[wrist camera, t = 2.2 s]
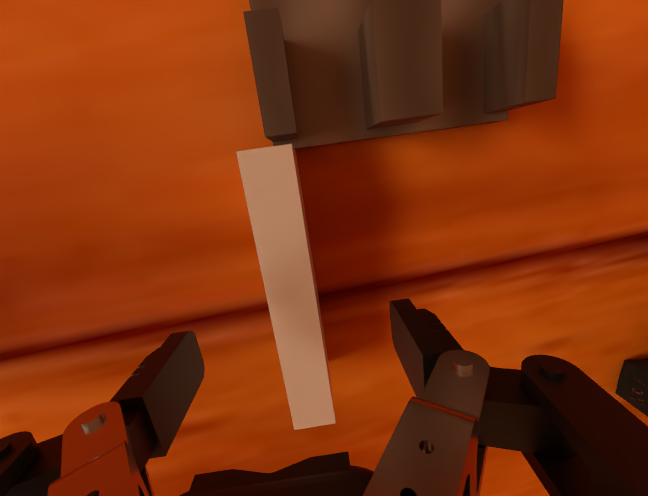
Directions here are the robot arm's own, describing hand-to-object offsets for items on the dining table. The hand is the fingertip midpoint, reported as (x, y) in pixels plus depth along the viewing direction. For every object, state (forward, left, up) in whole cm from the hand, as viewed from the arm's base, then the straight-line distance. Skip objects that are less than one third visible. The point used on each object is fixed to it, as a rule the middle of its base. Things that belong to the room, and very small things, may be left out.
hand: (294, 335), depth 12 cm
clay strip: (0, -1, -10) cm, 10 cm away
